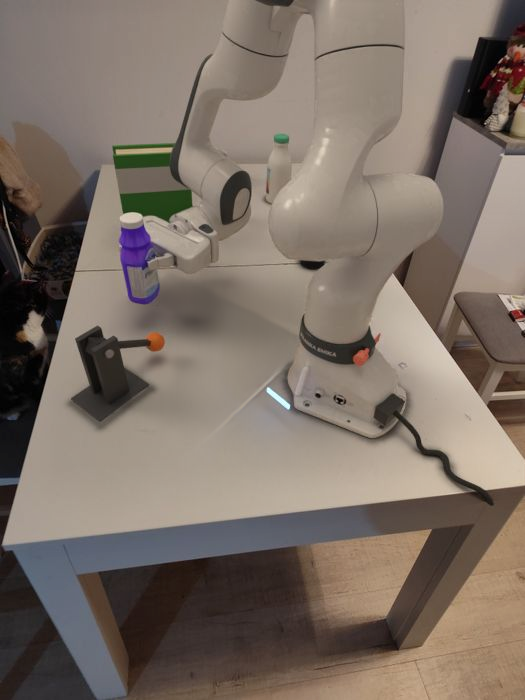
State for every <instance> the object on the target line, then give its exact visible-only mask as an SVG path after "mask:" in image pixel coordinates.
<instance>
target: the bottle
mask: <svg viewBox="0 0 525 700" xmlns="http://www.w3.org/2000/svg"><path fill="white" fill-rule="evenodd" d="M119 225H120V229H121V230H120V232H121V233H120V236H119V239H118V242H119V245H121V246H122V247H121V252H119V254H120V255H119V259H120V260H119V261H120V264H121V269H122V274H123V278H124V283H125V289H126V294H127V297H128V299H129V301H130V302H132V303H134V304H137V305H138V304H139V305H150V304H151V303H153V301H154V300H156V299H157V298H158V295H159V293H160V286H161V285H160V279H159V274H158V268H157V269H155V270H152V271H151V270H150V269H148V268H146V266H145V265H146V264H145V260H146V259H149V258H150V257H154V258H156V256H155V251H154V248H153V245H152V244H151V242H150V240H151V237H150V235H149V234H148V233H147V231H146V229H145V227H144V221H143V216H142V215H141V214H139V213H135V212H131V213H125V214H123V213H122V215H120V216H119Z"/></svg>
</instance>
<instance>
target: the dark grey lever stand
mask: <svg viewBox="0 0 525 700" xmlns="http://www.w3.org/2000/svg"><path fill="white" fill-rule="evenodd" d="M90 337H104V338H105V336H104V333H103V329H102V327H101V326H100V325H96V326H94V327H93V328H91V329H88V330H87V331H86V332H84V333H82V334H81V335H78V336H77V337H75V338H74V340H75V344H76V346H77V350H78V353H79V357H80V360H81V362H82V365H83V369H84V371H85V375H86V377H87V381H88V384H89V385H88V386H86V388H83V390H81V391H79V392H78V393H76V394H75V395H73V396H72V397H70V400H71V401H72V402H73V403H75V404H76V405H77V406H78V407H80V408H81V409H82V410H84V411H85V412H86V413H88V414H89V415H90V416H92V417H93V418H94V419H95V420H97V421H98V422H99V423H100V422H102V421H103V420H105V419H106V418H107V417H108V416H110V415H112V414H113V413H114V412H115V411H117V410H118V409H119V408H121V407H122V406H123V405H125V404H126V403H127V402H129V401H130V400H131V399H133V398H135V397H136V396H137V395H138V394H139V393H141V392H142V391H143V390H145V389H146V388H147V387H149V386H150V383H148V382H147V381H145V380H143V379H142V378H141V377H139V376H137V375H136V374H134V372H132V371H130V370H129V369H127V368H126V367H125V366H124V364H125V363H124V361H123V356H122V352H121V349H120V347H119V343H118V341H119V340H118V339H119V338H118V337H117V336H115V335H112V336H110V337H108V338H106V339H107V340H105V341H104V342H102V343H100V344H99V345H97V346H95V347H94V348H92V349H91V352H92V355H93V356H92V355H91V354H89V353H88V352H86V347H87V343H88V339H89V338H90Z"/></svg>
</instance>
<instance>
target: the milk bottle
mask: <svg viewBox="0 0 525 700" xmlns="http://www.w3.org/2000/svg"><path fill="white" fill-rule="evenodd" d="M289 144H290V136H289V135H288V134H286V133H276V134H274V135H273V148H272V150H271V152H270V155H269V157H268V161H267V165H266V166H267V167H266V181H265V182H266V183H265V200H266V202H268V203H269V204H272V202H273V200H274V198H275V197H276V195H277V194H278V192H279V191H280V190H281V189H282V188H283V187H284V186H285V185H286V184H287V183H288V182H289V181H290V180H291V179H292V171H293V170H292V168H293V167H292V165H293V163H292V158H291V154H290V151H289Z"/></svg>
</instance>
